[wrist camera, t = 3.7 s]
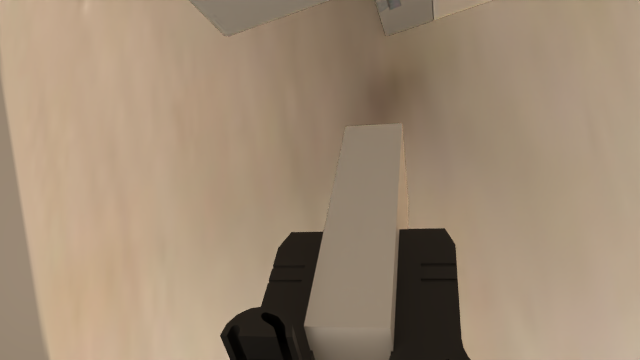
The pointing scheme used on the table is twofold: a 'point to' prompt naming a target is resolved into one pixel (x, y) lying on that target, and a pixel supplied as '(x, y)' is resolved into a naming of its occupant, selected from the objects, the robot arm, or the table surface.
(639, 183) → the table surface
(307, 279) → the robot arm
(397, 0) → the circuit breaker
